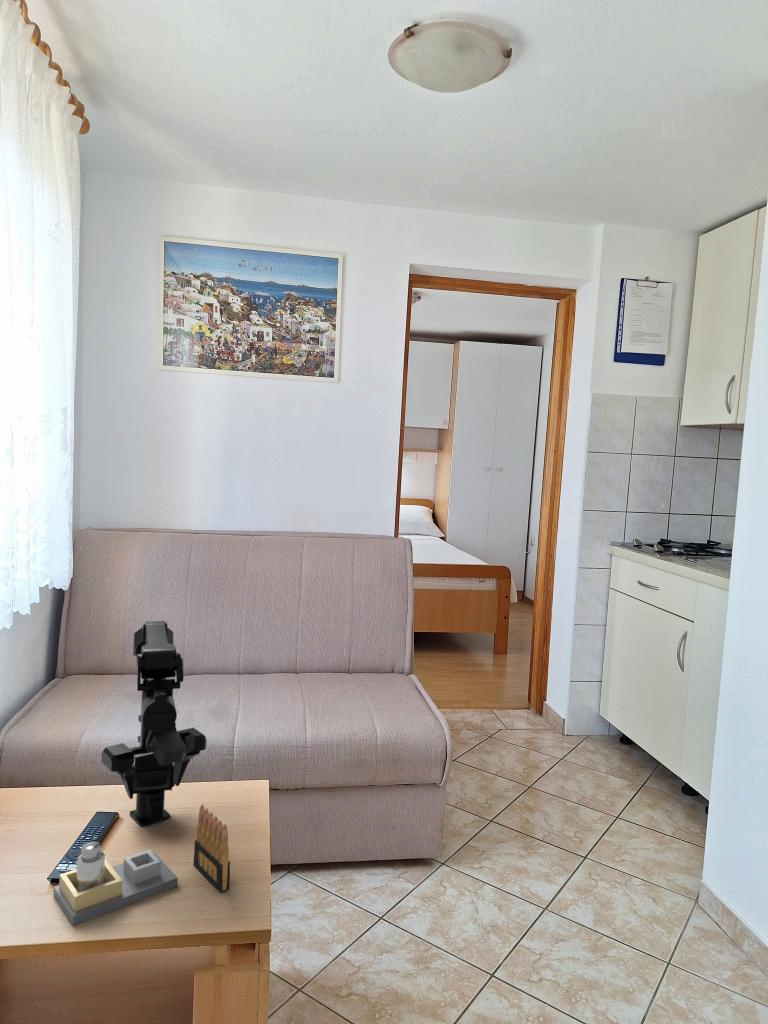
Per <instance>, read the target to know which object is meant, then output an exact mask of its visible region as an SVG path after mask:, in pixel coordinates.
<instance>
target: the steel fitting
mask: <svg viewBox="0 0 768 1024" xmlns="http://www.w3.org/2000/svg"><path fill="white" fill-rule="evenodd" d="M101 845H102V844H101V843H100V842H98V841H90V842H86V843H84V844H83V845H82V846H81V850H80V851H81V852H80V853H81V854H80V855H78V857H77V859H76V869H77V883H76V890H77V892H78V893H80V892H82V891H85V890H88V889H91V888H94V887H97V886H99V885H102V884H104V870H105V859H106V854H105V853H104V852H103V851H101Z"/></svg>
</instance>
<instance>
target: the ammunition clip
mask: <svg viewBox="0 0 768 1024" xmlns="http://www.w3.org/2000/svg"><path fill="white" fill-rule="evenodd" d="M229 847H230V846H229V831H228V826H227V824H226V823H224V825H223V821H222V819H221V820H220V819H219V820H218V817H217V815H215V816H214V813H213V812H212V811H211V812H209V809H208V808H205V805H204V804H201V806H200V808H199V812H198V820H197V826H196V839H194V847H193V849H194V850H193V851H194V852H193V864H192V865H193V867H194V868H195V869H196V870H197V871H198V873H200V874H201V875H202V876H203V877H204V878H205V879H206V881H208V883H210V885H211V886H213V888H214V889H215V890H216V891H217V892H218V893H219V894H221V893H224V892H225V891H228V890H230V883H231V882H230V880H231V879H230V877H231V873H230V872H231V861H230V860H229V857H230V856H229V855H230V854H229V852H230V849H229Z"/></svg>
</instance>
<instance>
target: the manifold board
mask: <svg viewBox="0 0 768 1024" xmlns="http://www.w3.org/2000/svg"><path fill="white" fill-rule="evenodd" d="M178 879H179V878H178V877H177V875H175V873H174V872H173V870H171V869H170V868H169V867H168V866H167V864H166V863H165V862H164V861H163V860H162V859H161V857H159V856H158V855H157V854H156V853H155V852H153V851H152V850H151V849H147V850H145V851H141V852H138V853H136V854H133V855H129V856H126V857H123V862H122V863H120V864H116V865H113V866H111V864H110V863H109V861H108V860H107V859H106V858H105V870H104V884H102V885H99V886H97V887H94V888H91V889H88V890H85V891H82V892H80V893H78V892H77V890H76V883H77V868H76V869H73V870H69V871H66V872H64V873H60V874H59V883H58V885H55V886H53V897H54V898H55V900H56V902H57V903H58V904H59V906H60V908H61V910H62V911H63V913H64V915H65V916H66V917H67V919H68V921H69V922H70V924H71V925H72V926H75V925H77V924H81V923H82V922H83V923H84V922H86V921H89V920H91V919H93V918H96V917H99V916H102V915H104V914H106V913H109V912H112V911H115V910H118V909H121V908H123V907H126V906H128V905H130V904H133V903H136V902H138V901H141V900H143V899H147V898H150V897H152V896H154V895H156V894H159V893H162V892H164V891H168V890H170V889H173V888H176V887H178V883H179V881H178Z"/></svg>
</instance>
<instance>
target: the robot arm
mask: <svg viewBox="0 0 768 1024" xmlns="http://www.w3.org/2000/svg"><path fill="white" fill-rule="evenodd" d="M174 643H175V642H174V631H172V630H171V629H170V628H169V627H168V621H165V620H147V621H145V622H143V623H142V627H140V629H138V630H136V631H135V632H134V633H133V645H132V646H133V648H132V649H133V650H132V656H133V657H136V658H135V659H136V660H135V663H136V664H135V666H136V669H137V670H136V671H137V672H136V673H137V674H136V675H137V678H136V680H137V681H136V686H137V687H136V690H137V692H141V706H140V707H141V709H140V711H141V712H140V715H138V720H137V721H138V722H139V723H140V735H139V736H137V743H139V745H138V746H135V747H128V746H127V745H126V744H125V743H123V742H122V743H117V744H114V745H110V746H105V747H104V749H103V751H102V752H101V759H100V761H101V763H103V765H104V766H105V767H106V768H107V769H108V770H109V771H111V772H113V773H117V774H118V775H119V776H120V778H121V781H122V784H123V786H124V789H125V792H126V794H127V796H128V798H129V800H132V799H133V798H134V794H135V796H136V798H135V809H133V810H131V811H129V815H130V816H131V817H132V819H133V820H134V821H135V822H136V823H137V824H138V825H139V826H141V827H144V826H147V825H150V824H153V823H157V822H160V821H163V820H166V819H169V818H171V814H170V812H168V811H167V809H165V796H166V795H165V794H166V791H172V790H173V787H175V786H176V787H179V786H180V785H181V782H182V779H183V777H184V774H185V772H186V770H187V767H188V765H189V763H190V762H191V760H192V759H193V758H194V757H196V756H198V755H200V753H201V751H204V750H207V742H208V741H207V738H206V735H205V734H203V733H202V732H200V731H199V730H198V729H197V728H196V727H190V728H185V729H180V730H178V729H177V727H176V726H177V723H176V721H177V717H178V716H177V714H178V713H177V707H176V703H175V699H174V690H177V689H178V690H179V689H181V683H183V682H184V660H183V658H182V656H181V654H180V653H181V652H177V647H176V646H175V644H174ZM141 679H142V683H141Z"/></svg>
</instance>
